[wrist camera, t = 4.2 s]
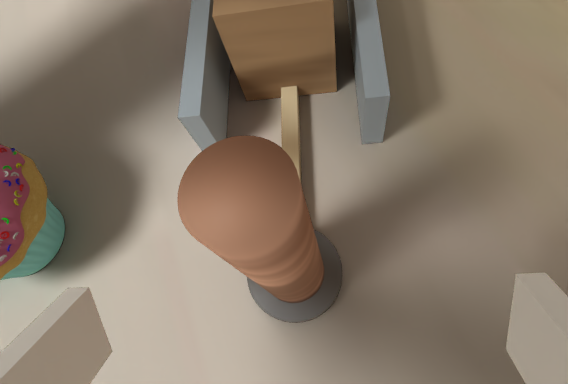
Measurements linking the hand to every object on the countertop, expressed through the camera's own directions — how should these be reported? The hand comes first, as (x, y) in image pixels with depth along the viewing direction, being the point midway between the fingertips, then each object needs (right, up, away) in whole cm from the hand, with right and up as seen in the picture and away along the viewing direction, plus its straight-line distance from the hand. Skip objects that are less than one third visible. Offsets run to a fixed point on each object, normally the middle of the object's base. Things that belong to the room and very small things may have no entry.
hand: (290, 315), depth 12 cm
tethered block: (0, +7, +11) cm, 13 cm away
